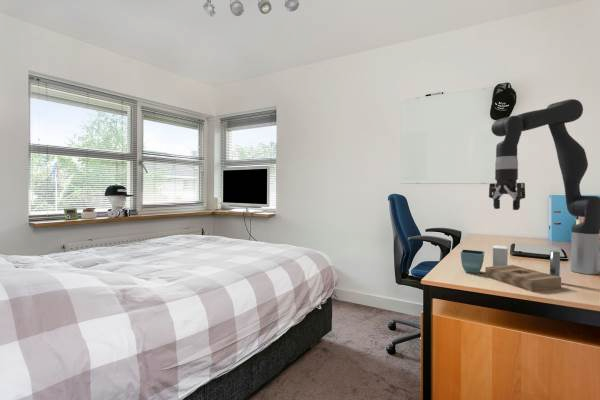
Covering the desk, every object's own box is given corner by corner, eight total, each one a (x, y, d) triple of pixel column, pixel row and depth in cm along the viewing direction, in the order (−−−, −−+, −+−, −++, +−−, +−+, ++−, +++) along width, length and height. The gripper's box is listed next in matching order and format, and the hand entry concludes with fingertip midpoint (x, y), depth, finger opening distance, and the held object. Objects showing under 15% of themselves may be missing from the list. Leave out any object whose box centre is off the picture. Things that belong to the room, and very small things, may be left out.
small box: (507, 273, 139) (507, 248, 139) (492, 271, 142) (492, 247, 142) (507, 269, 146) (507, 246, 146) (492, 267, 149) (493, 245, 149)
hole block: (485, 276, 133) (485, 267, 133) (512, 274, 137) (512, 264, 137) (531, 291, 114) (531, 280, 114) (560, 288, 118) (561, 277, 118)
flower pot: (484, 271, 143) (484, 250, 142) (483, 275, 135) (483, 254, 135) (462, 268, 147) (462, 249, 147) (460, 272, 140) (460, 252, 140)
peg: (553, 281, 127) (554, 250, 126) (561, 283, 124) (562, 252, 123) (547, 281, 126) (548, 251, 125) (555, 283, 123) (556, 252, 123)
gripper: (531, 167, 120) (530, 210, 121) (498, 169, 134) (498, 208, 135) (515, 167, 119) (514, 210, 119) (483, 169, 132) (483, 208, 133)
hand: (506, 209), depth 127 cm, fingers open, 8 cm apart
